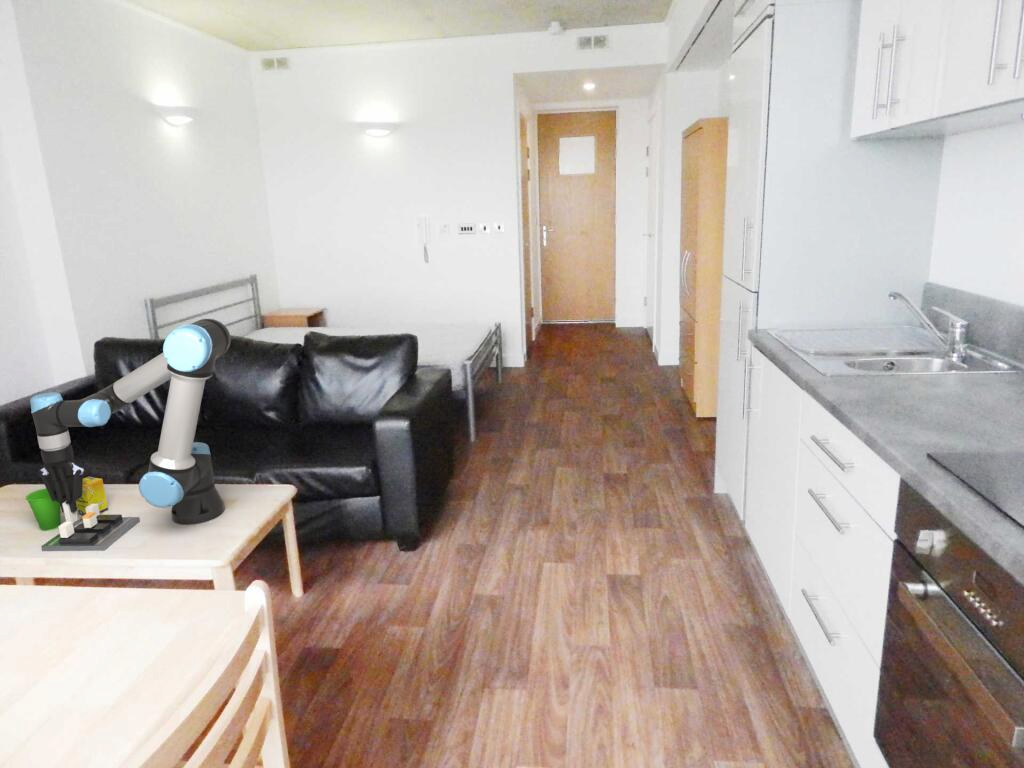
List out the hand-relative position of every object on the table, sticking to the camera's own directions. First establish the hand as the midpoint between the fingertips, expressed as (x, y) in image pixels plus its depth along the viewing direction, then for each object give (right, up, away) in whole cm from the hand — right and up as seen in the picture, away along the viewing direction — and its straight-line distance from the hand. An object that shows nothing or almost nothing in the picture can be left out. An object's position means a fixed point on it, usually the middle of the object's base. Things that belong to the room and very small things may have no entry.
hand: (72, 521), depth 199 cm
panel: (+6, -4, +1) cm, 7 cm away
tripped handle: (+5, -1, 0) cm, 6 cm away
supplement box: (-4, -1, +17) cm, 17 cm away
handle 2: (+3, 0, +6) cm, 7 cm away
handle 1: (+2, -3, -6) cm, 7 cm away
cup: (-11, -3, +7) cm, 14 cm away
